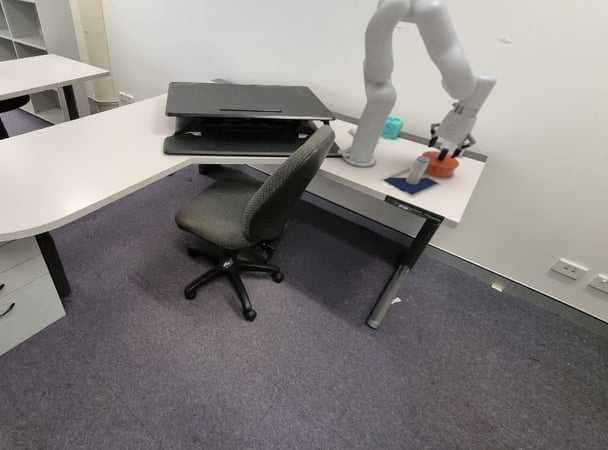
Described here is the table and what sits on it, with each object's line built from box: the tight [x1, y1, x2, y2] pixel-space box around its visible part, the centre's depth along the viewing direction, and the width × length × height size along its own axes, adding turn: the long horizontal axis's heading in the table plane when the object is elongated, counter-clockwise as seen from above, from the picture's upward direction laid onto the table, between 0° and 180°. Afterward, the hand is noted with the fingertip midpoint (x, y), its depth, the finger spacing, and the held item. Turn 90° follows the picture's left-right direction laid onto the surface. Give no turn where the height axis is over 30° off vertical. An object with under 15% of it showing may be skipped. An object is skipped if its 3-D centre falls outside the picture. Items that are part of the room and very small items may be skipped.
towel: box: [384, 176, 439, 196], centre depth 129 cm, size 17×12×1 cm
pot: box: [424, 164, 456, 179], centre depth 135 cm, size 12×12×5 cm
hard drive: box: [349, 128, 357, 137], centre depth 158 cm, size 2×8×12 cm
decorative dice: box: [380, 116, 404, 140], centre depth 158 cm, size 8×8×8 cm
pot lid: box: [421, 148, 460, 170], centre depth 132 cm, size 13×13×6 cm
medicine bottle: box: [439, 139, 469, 157], centre depth 145 cm, size 7×7×12 cm
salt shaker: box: [405, 155, 430, 185], centre depth 126 cm, size 5×5×10 cm
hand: (441, 151), depth 131 cm, fingers open, 9 cm apart
